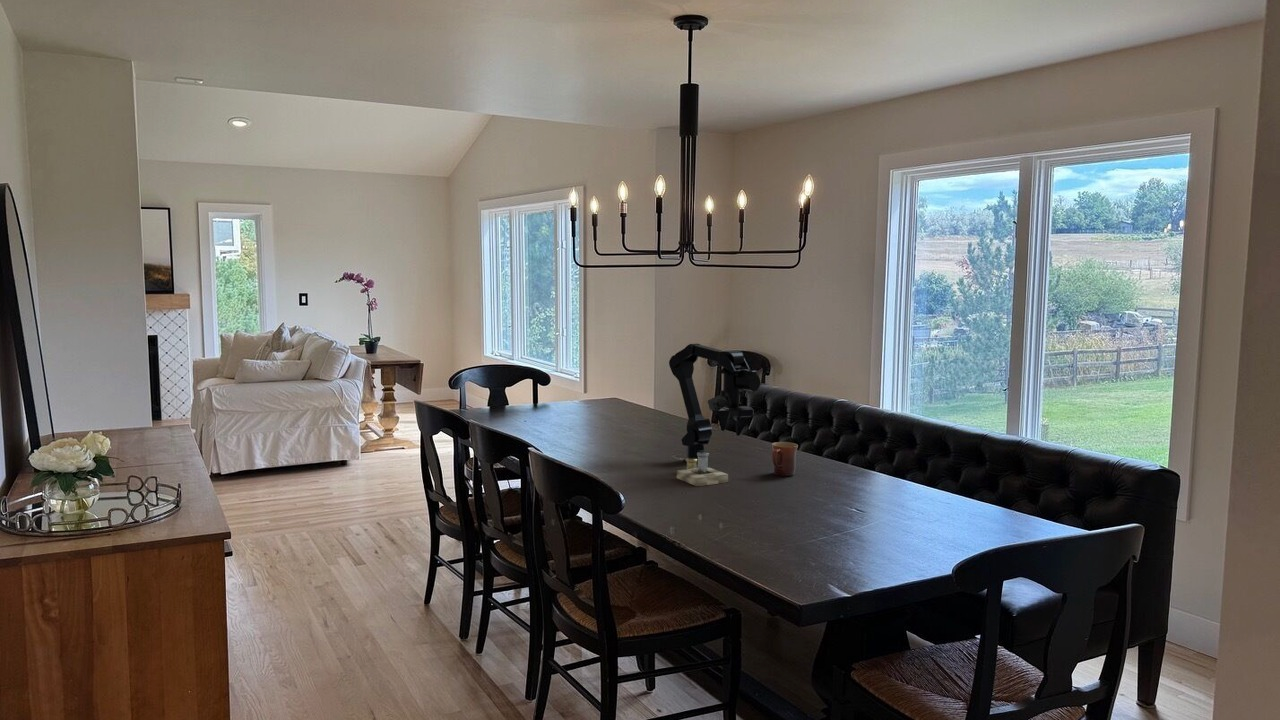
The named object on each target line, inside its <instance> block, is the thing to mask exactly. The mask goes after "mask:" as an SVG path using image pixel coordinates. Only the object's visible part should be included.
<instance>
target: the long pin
mask: <svg viewBox="0 0 1280 720" xmlns="http://www.w3.org/2000/svg"><path fill="white" fill-rule="evenodd" d="M697 456H698V463H697V468H698V473H699V474H707V470H708V464H709V462H708V461H709V456H710V453H709V452H706V451H704V452H697Z"/></svg>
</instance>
